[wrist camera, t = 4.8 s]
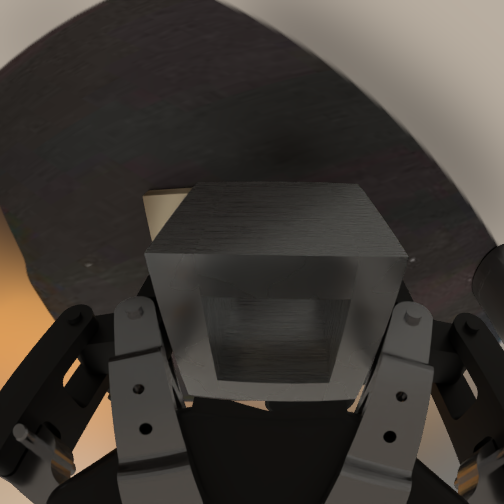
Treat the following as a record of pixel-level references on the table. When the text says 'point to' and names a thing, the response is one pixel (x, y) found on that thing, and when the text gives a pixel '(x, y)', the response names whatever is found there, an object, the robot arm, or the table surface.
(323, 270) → the block
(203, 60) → the table surface
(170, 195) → the shaft stand
